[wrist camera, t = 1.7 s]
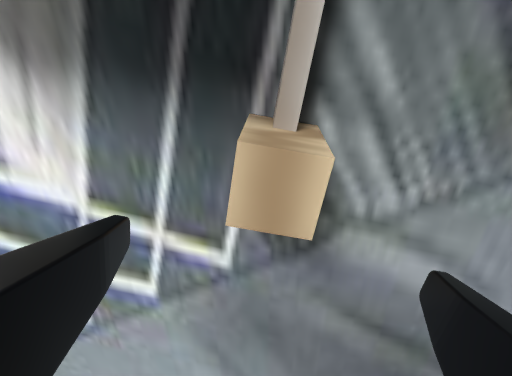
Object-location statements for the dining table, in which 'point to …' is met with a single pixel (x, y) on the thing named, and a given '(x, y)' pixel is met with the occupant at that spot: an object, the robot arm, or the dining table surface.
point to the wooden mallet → (283, 148)
